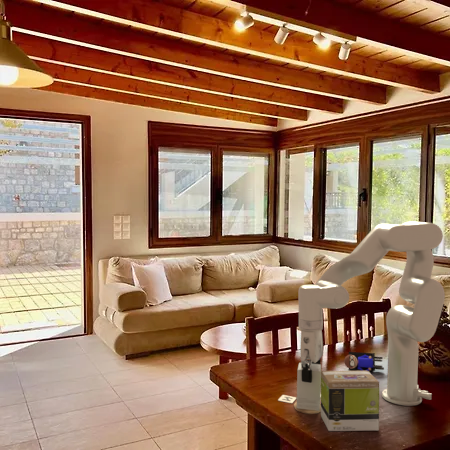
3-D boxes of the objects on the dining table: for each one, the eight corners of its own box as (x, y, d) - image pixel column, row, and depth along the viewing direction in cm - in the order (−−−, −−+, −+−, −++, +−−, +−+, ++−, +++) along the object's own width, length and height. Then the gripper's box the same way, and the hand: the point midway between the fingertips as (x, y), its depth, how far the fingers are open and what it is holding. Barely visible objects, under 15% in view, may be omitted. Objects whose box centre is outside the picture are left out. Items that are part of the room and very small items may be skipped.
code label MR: (296, 398, 161) (296, 397, 161) (292, 403, 157) (292, 403, 157) (282, 395, 163) (282, 394, 163) (277, 400, 159) (277, 400, 159)
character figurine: (384, 376, 183) (344, 373, 186) (382, 368, 190) (343, 366, 193) (385, 357, 182) (344, 354, 185) (382, 349, 189) (343, 347, 192)
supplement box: (319, 411, 149) (320, 371, 149) (296, 408, 151) (296, 369, 150) (320, 401, 157) (321, 363, 156) (297, 399, 158) (298, 361, 158)
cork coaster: (325, 405, 156) (325, 403, 156) (318, 416, 148) (318, 414, 148) (298, 399, 160) (298, 397, 160) (290, 410, 152) (290, 408, 152)
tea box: (367, 416, 148) (369, 369, 147) (379, 432, 138) (380, 381, 137) (319, 416, 148) (320, 369, 147) (327, 432, 138) (328, 381, 137)
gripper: (314, 332, 143) (315, 388, 144) (329, 318, 158) (329, 369, 159) (290, 329, 146) (291, 384, 147) (307, 316, 162) (307, 366, 163)
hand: (311, 376), depth 153 cm, fingers open, 9 cm apart
